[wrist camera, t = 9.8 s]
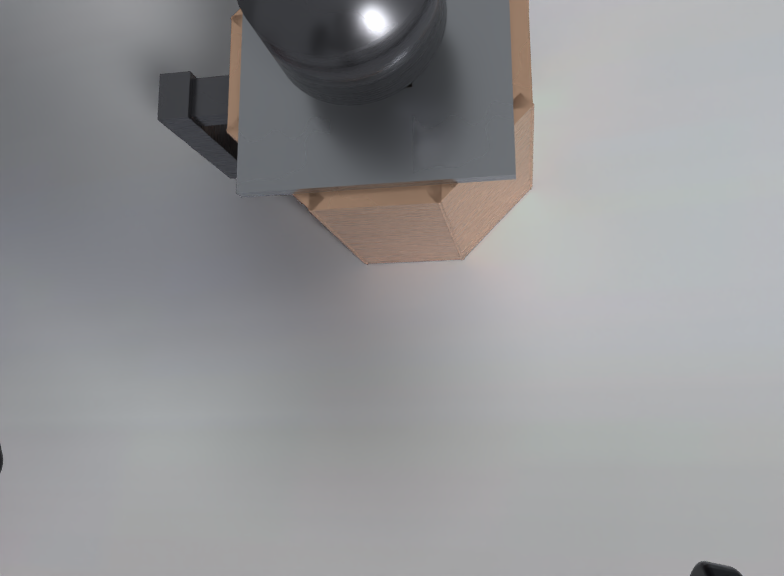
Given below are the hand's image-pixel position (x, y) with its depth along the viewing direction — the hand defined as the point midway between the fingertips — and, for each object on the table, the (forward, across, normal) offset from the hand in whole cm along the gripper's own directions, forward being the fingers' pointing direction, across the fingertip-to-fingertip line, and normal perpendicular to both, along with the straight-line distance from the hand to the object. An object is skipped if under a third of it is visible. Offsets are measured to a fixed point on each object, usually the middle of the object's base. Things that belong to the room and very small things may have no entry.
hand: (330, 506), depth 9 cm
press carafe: (+14, +2, 0) cm, 14 cm away
